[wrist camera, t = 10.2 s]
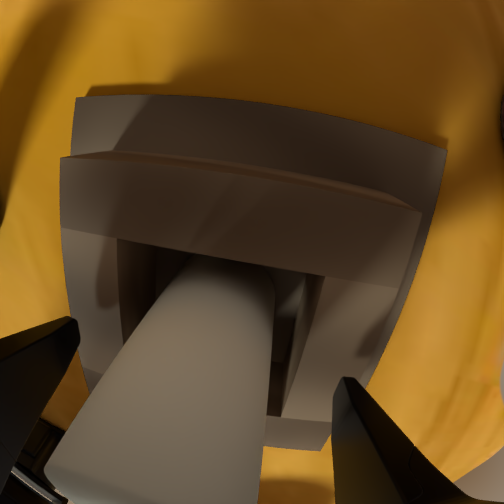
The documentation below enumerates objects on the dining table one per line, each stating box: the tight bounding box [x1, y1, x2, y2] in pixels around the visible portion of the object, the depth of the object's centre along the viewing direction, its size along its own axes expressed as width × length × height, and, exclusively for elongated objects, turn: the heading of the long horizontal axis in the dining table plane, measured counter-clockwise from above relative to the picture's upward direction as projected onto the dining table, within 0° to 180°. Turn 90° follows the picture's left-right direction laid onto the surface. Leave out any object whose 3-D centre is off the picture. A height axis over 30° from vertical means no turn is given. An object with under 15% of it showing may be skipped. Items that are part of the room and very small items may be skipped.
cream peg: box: [44, 254, 275, 504], centre depth 8 cm, size 4×4×10 cm
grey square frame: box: [60, 95, 447, 451], centre depth 12 cm, size 16×16×4 cm
